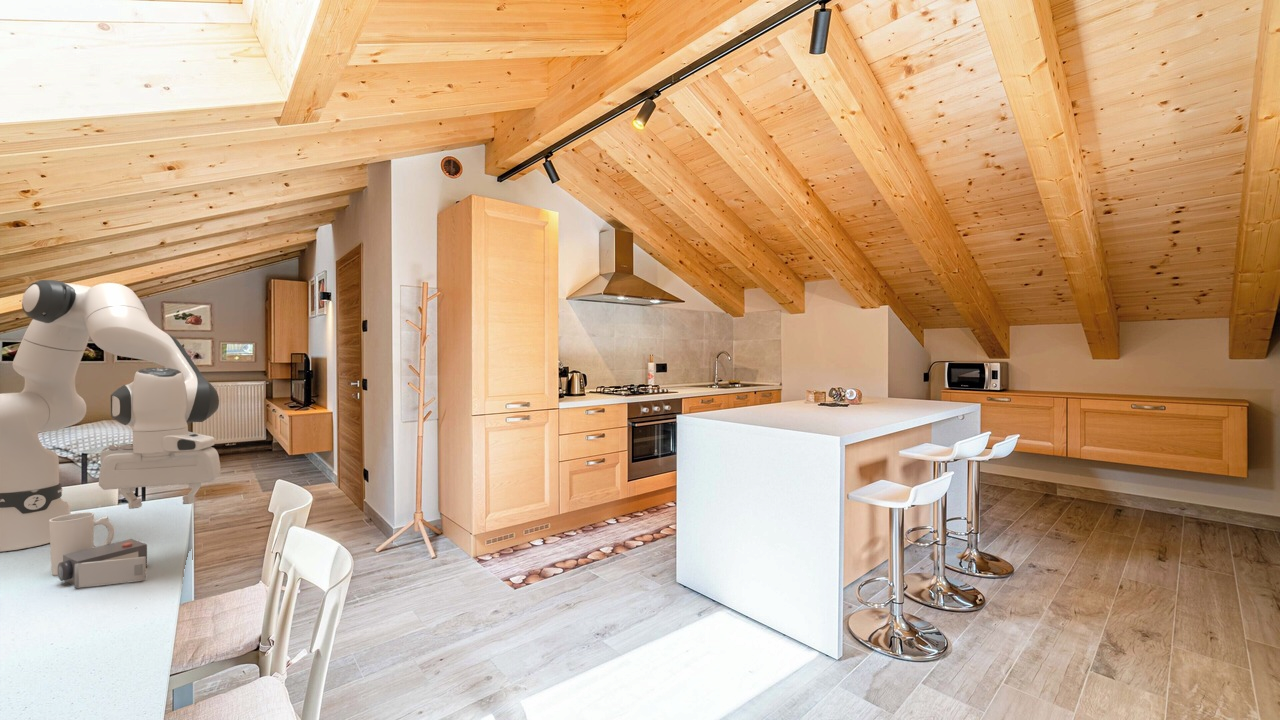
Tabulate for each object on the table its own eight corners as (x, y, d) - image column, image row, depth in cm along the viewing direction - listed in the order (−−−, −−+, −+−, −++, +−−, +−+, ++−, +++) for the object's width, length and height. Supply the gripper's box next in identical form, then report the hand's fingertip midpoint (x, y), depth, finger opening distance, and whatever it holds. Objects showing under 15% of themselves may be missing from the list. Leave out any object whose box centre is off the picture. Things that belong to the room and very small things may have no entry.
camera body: (54, 582, 109) (53, 554, 109) (131, 561, 120) (131, 536, 120) (68, 590, 106) (68, 560, 106) (147, 568, 117) (147, 541, 116)
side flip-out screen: (77, 586, 107) (76, 563, 107) (146, 578, 110) (145, 556, 110) (72, 588, 106) (72, 565, 106) (142, 580, 109) (142, 558, 109)
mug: (46, 579, 111) (45, 523, 111) (53, 569, 116) (52, 516, 116) (112, 566, 117) (112, 514, 117) (116, 558, 123) (116, 507, 123)
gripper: (89, 447, 106) (91, 514, 106) (210, 441, 112) (211, 504, 112) (110, 443, 112) (111, 506, 112) (223, 437, 118) (224, 497, 118)
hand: (162, 505), depth 112 cm, fingers open, 8 cm apart
